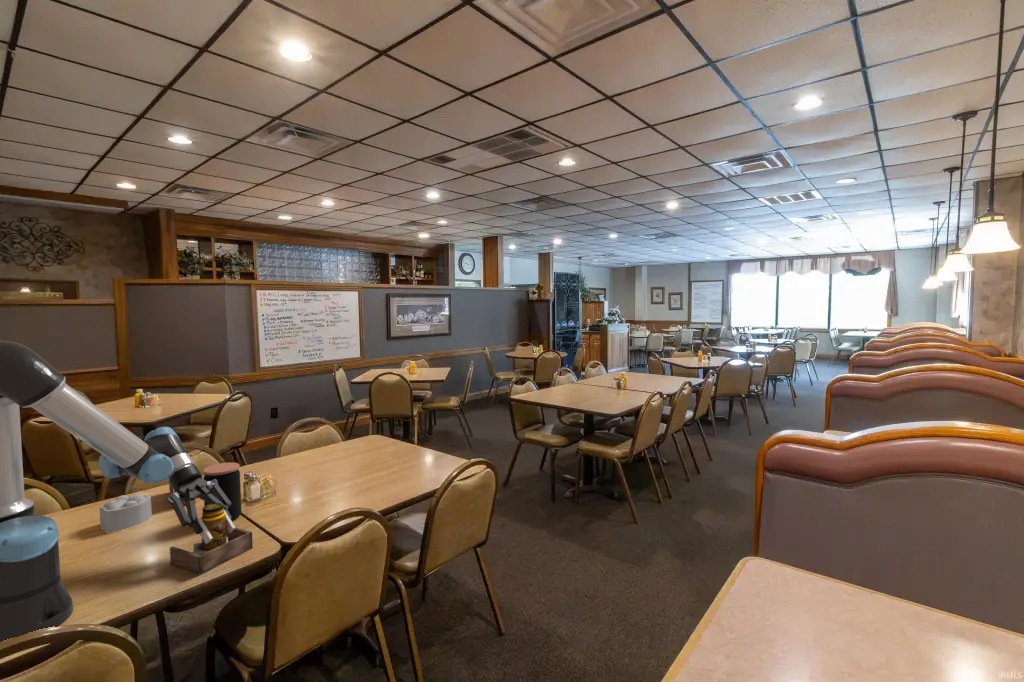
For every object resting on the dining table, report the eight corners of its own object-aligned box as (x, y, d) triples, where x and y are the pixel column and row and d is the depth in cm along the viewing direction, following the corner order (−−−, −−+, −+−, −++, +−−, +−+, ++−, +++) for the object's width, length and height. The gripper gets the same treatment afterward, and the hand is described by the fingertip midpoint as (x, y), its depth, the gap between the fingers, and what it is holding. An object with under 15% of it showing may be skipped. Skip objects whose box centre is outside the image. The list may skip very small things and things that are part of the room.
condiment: (228, 547, 134) (226, 507, 133) (192, 556, 129) (191, 514, 129) (227, 537, 140) (226, 498, 139) (193, 544, 136) (192, 505, 135)
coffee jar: (234, 509, 167) (232, 460, 166) (246, 517, 160) (244, 466, 159) (200, 519, 159) (198, 468, 158) (211, 528, 152) (209, 475, 151)
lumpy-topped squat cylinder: (98, 526, 154) (96, 500, 153) (145, 512, 164) (144, 488, 164) (108, 534, 148) (106, 508, 147) (157, 519, 159) (155, 495, 158)
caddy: (200, 575, 125) (199, 557, 125) (170, 564, 130) (169, 547, 130) (252, 548, 140) (252, 531, 139) (224, 539, 145) (223, 524, 144)
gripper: (208, 469, 149) (245, 528, 144) (141, 491, 131) (181, 558, 126) (218, 455, 146) (256, 514, 141) (151, 475, 129) (192, 544, 124)
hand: (221, 535), depth 134 cm, fingers closed on condiment, 6 cm apart
